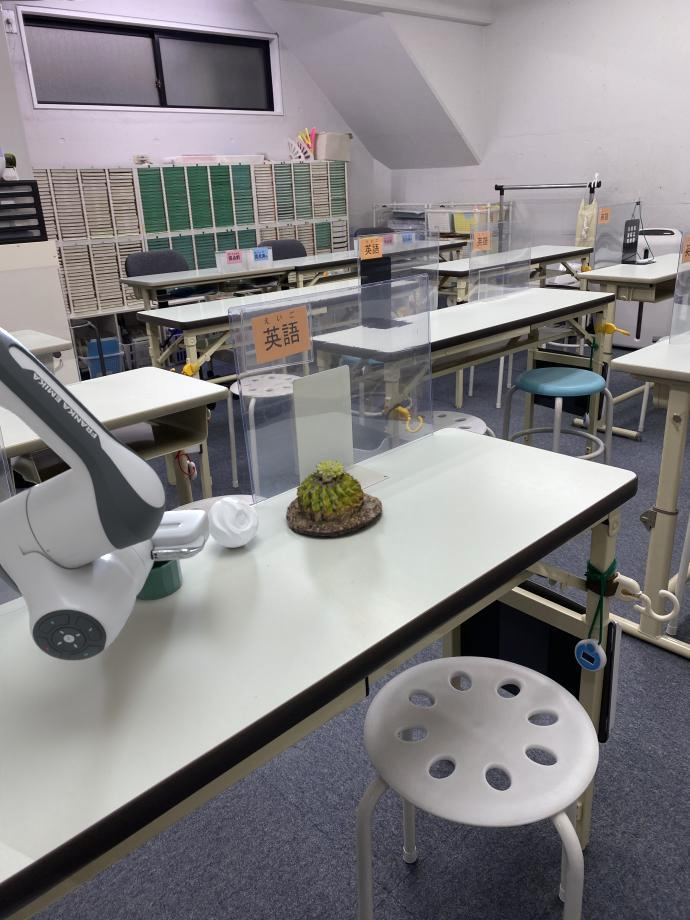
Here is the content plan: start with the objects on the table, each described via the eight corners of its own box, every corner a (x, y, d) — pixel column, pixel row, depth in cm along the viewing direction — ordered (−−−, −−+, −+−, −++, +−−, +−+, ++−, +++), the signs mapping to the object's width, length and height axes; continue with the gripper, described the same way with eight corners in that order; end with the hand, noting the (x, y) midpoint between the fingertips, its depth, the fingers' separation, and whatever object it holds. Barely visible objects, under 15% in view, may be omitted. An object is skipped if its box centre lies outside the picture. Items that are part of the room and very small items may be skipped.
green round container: (123, 601, 95) (117, 573, 93) (137, 573, 102) (131, 547, 100) (176, 597, 95) (171, 569, 93) (186, 570, 102) (182, 543, 100)
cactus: (348, 547, 105) (344, 489, 102) (266, 527, 114) (260, 473, 110) (399, 503, 119) (398, 451, 115) (323, 488, 127) (319, 439, 123)
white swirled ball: (231, 561, 104) (225, 515, 101) (200, 547, 108) (193, 503, 105) (269, 540, 109) (264, 496, 106) (238, 528, 114) (232, 485, 111)
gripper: (197, 530, 81) (215, 484, 94) (24, 540, 81) (66, 493, 94) (204, 576, 83) (220, 525, 96) (36, 586, 83) (75, 534, 96)
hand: (143, 509), depth 95 cm, fingers closed on chess piece, 2 cm apart
